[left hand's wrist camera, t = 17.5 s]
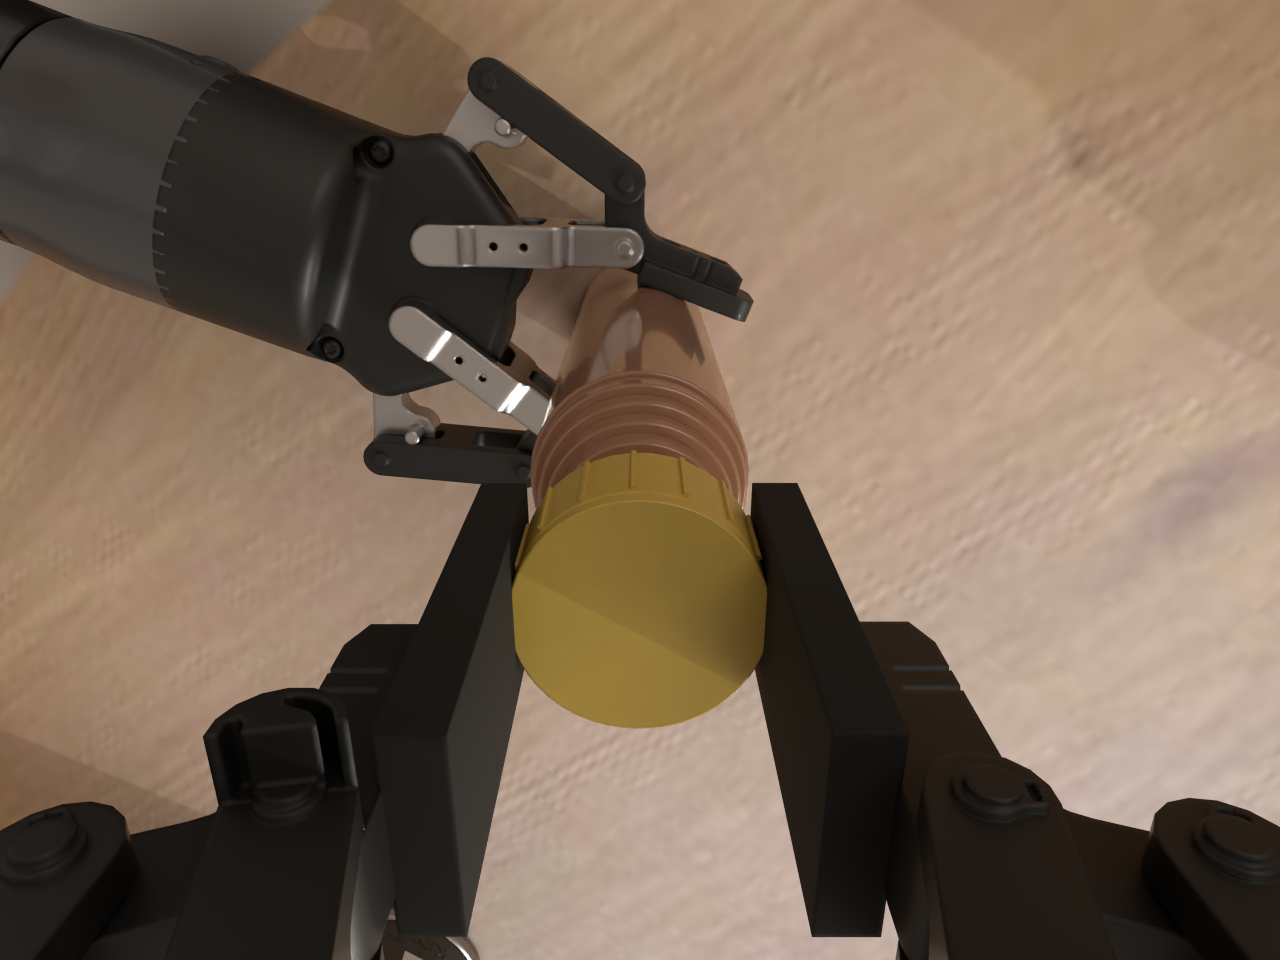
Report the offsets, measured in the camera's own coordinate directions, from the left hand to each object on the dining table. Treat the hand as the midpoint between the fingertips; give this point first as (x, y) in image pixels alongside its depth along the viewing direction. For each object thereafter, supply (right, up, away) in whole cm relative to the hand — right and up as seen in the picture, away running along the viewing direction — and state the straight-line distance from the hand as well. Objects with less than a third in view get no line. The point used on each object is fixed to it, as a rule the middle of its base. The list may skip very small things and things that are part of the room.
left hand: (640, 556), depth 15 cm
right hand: (+2, +5, +14) cm, 15 cm away
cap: (0, -1, -2) cm, 2 cm away
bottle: (0, +8, +20) cm, 21 cm away
